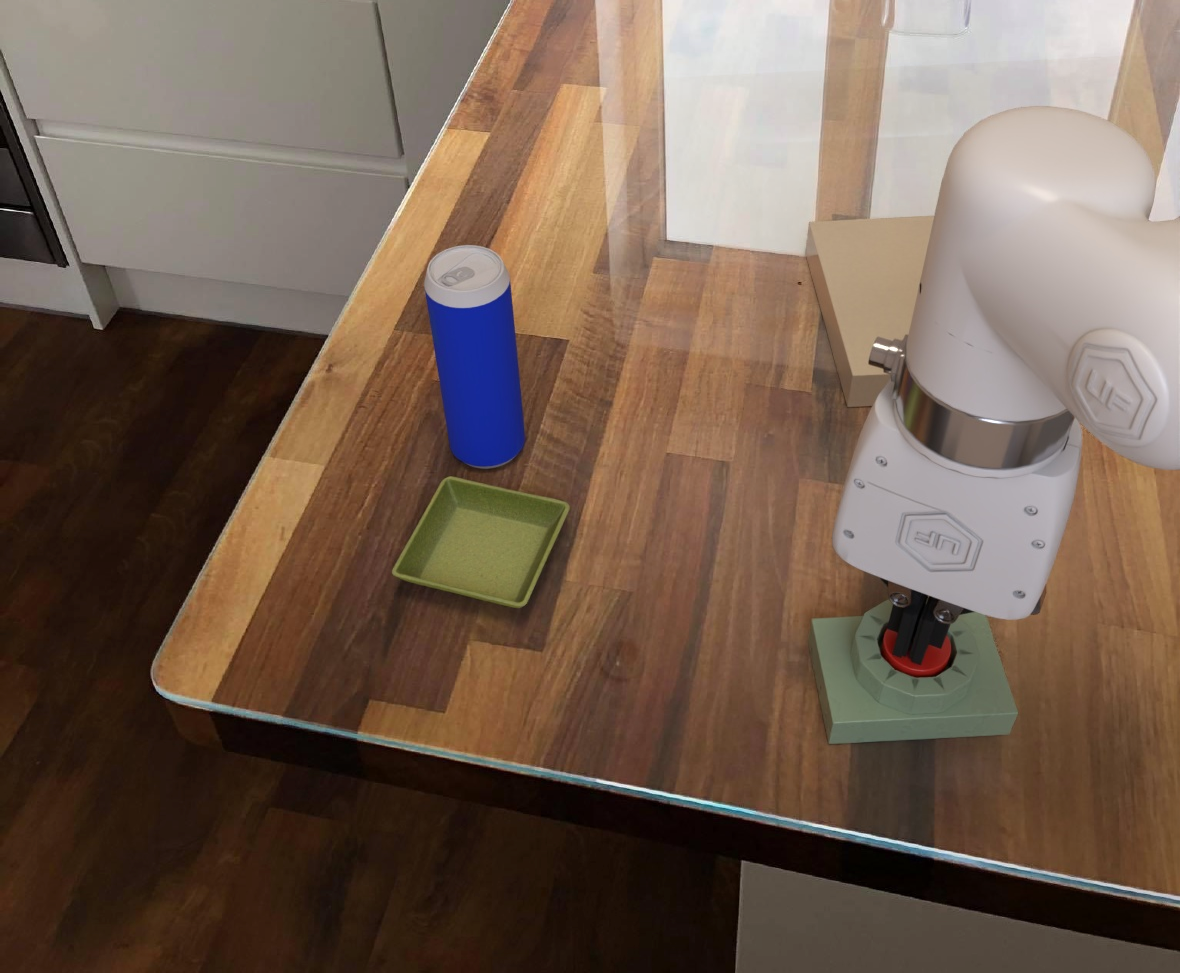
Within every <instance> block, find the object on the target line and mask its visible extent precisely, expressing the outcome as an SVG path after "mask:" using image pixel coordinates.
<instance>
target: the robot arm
mask: <svg viewBox="0 0 1180 973" xmlns="http://www.w3.org/2000/svg"><path fill="white" fill-rule="evenodd" d="M1156 180H1157V178H1156V173H1155V170H1154V164H1153V162H1152V161H1151V158H1150V156H1149V155H1148V152H1147V151H1146V149H1145V148H1144V147H1143V146H1142V145H1141V143H1140V141H1138V140H1137V139H1136V138H1135V137H1134V136H1132V135H1131V134H1130V133H1129V132H1127V131H1126V130H1125V129H1124V128H1122V127H1121V126H1118V125H1117V124H1115V123H1114V122H1112V121H1110V120H1107V119H1105V118H1103V117H1101V116H1098V115H1095V114H1092V113H1089V112H1085V111H1082V110H1078V109H1073V108H1069V107H1068V108H1067V107H1060V106H1050V105H1032V106H1031V105H1030V106H1020V107H1016V108H1010V109H1009V108H1008V109H1006V110H1003V111H1000V112H997V113H994V114H991V115H989V116H987V117H984V118H982V119H981V120H979V121H978V122H977V123H975V124H974V125H973V126H971V127H970V128H969V129H968V130H966V131H965V132H964V133H963V134H962V135H961V137H960V138H959V140H957V142H956V143H955V145H954V146H953V147H952V149H951V152H950V154H949V156H948V158H947V161H946V165H945V168H944V172H943V176H942V179H941V183H940V188H939V192H938V197H937V202H936V207H935V211H934V215H933V216H934V220H933V224H932V229H931V233H930V238H929V243H928V247H927V252H926V256H925V261H924V266H923V270H922V275H921V280H920V284H919V289H918V293H917V298H916V303H915V307H914V312H913V316H912V321H911V326H910V330H909V335H905V336H904V338H903V340H900V339H896V338H895V339H894V340H893V341H891V340H888V339H885V338H881V337H877V338H876V340H875V342H874V344H873V347H872V350H871V353H870V356H869V361H868V364H869V365H872V366H875V367H878V368H882V369H883V372H884V373H887V374H891V379H890V380H889V381H888V382H887V384H886V386H885V387H884V389H883V390H882V391H881V392H880V394H879V395H878V397H877V399H876V400H875V402H874V404H873V406H871V408H870V410H869V411H868V413H867V416H866V419H865V421H864V423H863V426H862V427H861V429H860V433H859V436H858V437H857V438H858V439H857V442H856V445H855V447H854V450H853V454H852V457H851V460H850V463H849V466H848V470H847V473H846V477H845V481H844V484H843V489H842V491H841V494H840V495H841V496H840V500H839V503H838V506H837V511H836V515H835V518H834V519H835V520H834V523H833V527H832V534H831V546H832V549H833V551H834V552H835V553H836V555H837V556H838V557H839V558H840V559H841V560H842V561H844V562H845V563H847V564H848V565H851V566H852V567H854V568H856V569H858V570H860V571H863V572H865V573H868V574H870V575H873V576H875V577H877V578H879V579H880V580H881V581H882V582H883V584H884V585H885V586H886V587H887V600H888V599H889V601H890V602H891V603H892V604H893V607H892V611H891V615H890V618H889V622H888V626H887V629H889V630H892V631H894V632H897V633H898V634H897V638H896V642H895V645H894V649H893V653H892V655H895V656H897V657H900V658H902V656H904V657H906V655H907V653H908V651H909V648H910V646H911V643H912V641H913V639H914V641H913V645H912V648H911V651H910V655H909V659H912V661H911V662H913V663H915V664H918V665H921V663H922V661H923V658H924V656H925V653H926V651H927V649H928V646H929V645H932V646H934V647H937V648H940V649H941V648H942V646H943V643H944V641H945V638H946V636H947V633H948V630H949V627H950V624H952V623H954V622H955V621H956V620H957V618H958V617H959V615H962V614H967V613H972V612H978V613H981V614H984V615H986V616H987V617H990V618H995V619H999V620H1006V621H1007V620H1008V621H1010V620H1011V621H1016V620H1017V621H1018V620H1019V621H1020V620H1023V619H1026V618H1028V617H1030V616H1035V615H1038V614H1040V613H1041V610H1042V607H1043V604H1044V601H1045V598H1046V595H1047V582H1048V580H1049V578H1050V576H1051V573H1052V570H1053V567H1054V564H1055V561H1056V559H1057V555H1058V552H1059V550H1060V546H1061V543H1062V540H1063V537H1064V534H1065V532H1066V527H1067V524H1068V521H1069V518H1070V515H1071V511H1072V508H1073V502H1074V499H1075V495H1076V489H1077V485H1078V479H1079V475H1080V474H1079V473H1080V468H1081V460H1082V448H1083V431H1082V427H1084V428H1085V429H1086V430H1087V432H1089V433H1090V434H1091V435H1092V436H1093V437H1094V438H1095V439H1097V440H1098V441H1099V442H1101V443H1102V444H1103V445H1105V446H1106V447H1107V448H1109V449H1110V450H1111V451H1113V452H1114V453H1116V454H1118V455H1119V456H1121V457H1123V458H1125V459H1127V460H1129V461H1131V462H1133V463H1135V464H1137V465H1140V466H1143V467H1147V468H1151V469H1155V470H1161V471H1180V215H1179V216H1177V217H1176V218H1175V219H1168V220H1156V221H1155V220H1154V221H1151V220H1150V217H1151V213H1152V209H1153V205H1154V203H1155V197H1156V189H1157V181H1156ZM926 602H927V603H926ZM914 636H915V638H914Z"/></svg>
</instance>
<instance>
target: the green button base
mask: <svg viewBox="0 0 1180 973" xmlns="http://www.w3.org/2000/svg"><path fill="white" fill-rule="evenodd" d="M926 603H927V602H926ZM892 607H893V604H892V603H891V602H890V601H889V599H888V598H887V599H886V600H884V601H882V602H880V603H879V604H878V605H875V606H874V607H872V608H871V609H869V610H867V611H865V612H864V613H863V615H853V616H852V615H851V616H837V617H834V616H833V617H817V618H816V617H815V618H811V620H810V625H809V631H808V636H807V644H808V650H809V654H810V660H811V664H812V665H811V666H812V668H813V674H814V678H815V679H814V680H815V684H816V689H817V690H816V691H817V694H818V699H819V704H820V709H821V715H822V719H823V723H824V724H823V725H824V729H825V733H826V738H827V743H828V744H829V745H838V744H855V743H856V744H858V743H859V744H861V743H875V742H896V741H911V740H912V741H914V740H931V739H934V740H935V739H952V738H971V737H990V736H1008V735H1010V734H1011V732H1012V730H1013V728H1014V725H1015V722H1016V721H1017V717H1018V715H1019V711H1018V708H1017V705H1016V702H1015V698H1014V695H1013V692H1012V689H1011V687H1010V684H1009V680H1008V678H1007V675H1006V672H1005V669H1004V664H1003V663H1002V662H1003V661H1002V659H1001V655H1000V653H999V650H998V648H997V644H996V641H995V638H994V635H993V631H992V629H991V626H990V622H989V619H988V616H987V615H984V614H981V613H978V612H972V613H967V614H962V615H959V617H958V618H957V620H956V621H955V622H954V623H952V624H950V627H949V630H948V633H947V636H948V638H949V641H950V644H951V654H950V657H949V660H948V663H947V666H946V670H945V671H944V672H942V673H941V674H939V675H937V676H936V677H919V678H915V677H912V676H910V675H907V674H905V673H902V672H899V671H897V670H895V669H894V668H893V667H892V666H891V665H890V664H889V663H888V662H887V661H886V660H885V659H884V658H883V657H882V656H881V653H880V650H881V646H882V642H883V638H884V634H885V632H886V630H887V626H888V622H889V618H890V615H891V611H892Z"/></svg>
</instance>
